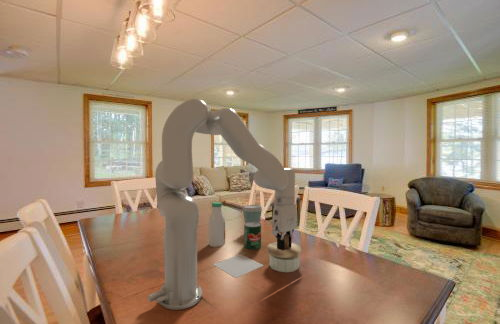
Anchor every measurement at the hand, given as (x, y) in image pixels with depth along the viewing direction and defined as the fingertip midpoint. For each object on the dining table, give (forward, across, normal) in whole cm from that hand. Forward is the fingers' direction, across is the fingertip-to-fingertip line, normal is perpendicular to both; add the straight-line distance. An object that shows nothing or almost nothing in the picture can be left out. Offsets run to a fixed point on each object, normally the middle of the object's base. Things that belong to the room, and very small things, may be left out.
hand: (284, 247), depth 97 cm
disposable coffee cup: (+8, +18, +37) cm, 42 cm away
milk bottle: (+8, -6, +36) cm, 37 cm away
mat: (+8, -13, +12) cm, 19 cm away
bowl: (+8, 0, 0) cm, 8 cm away
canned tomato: (+8, +4, +22) cm, 24 cm away
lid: (+1, 0, 0) cm, 1 cm away
